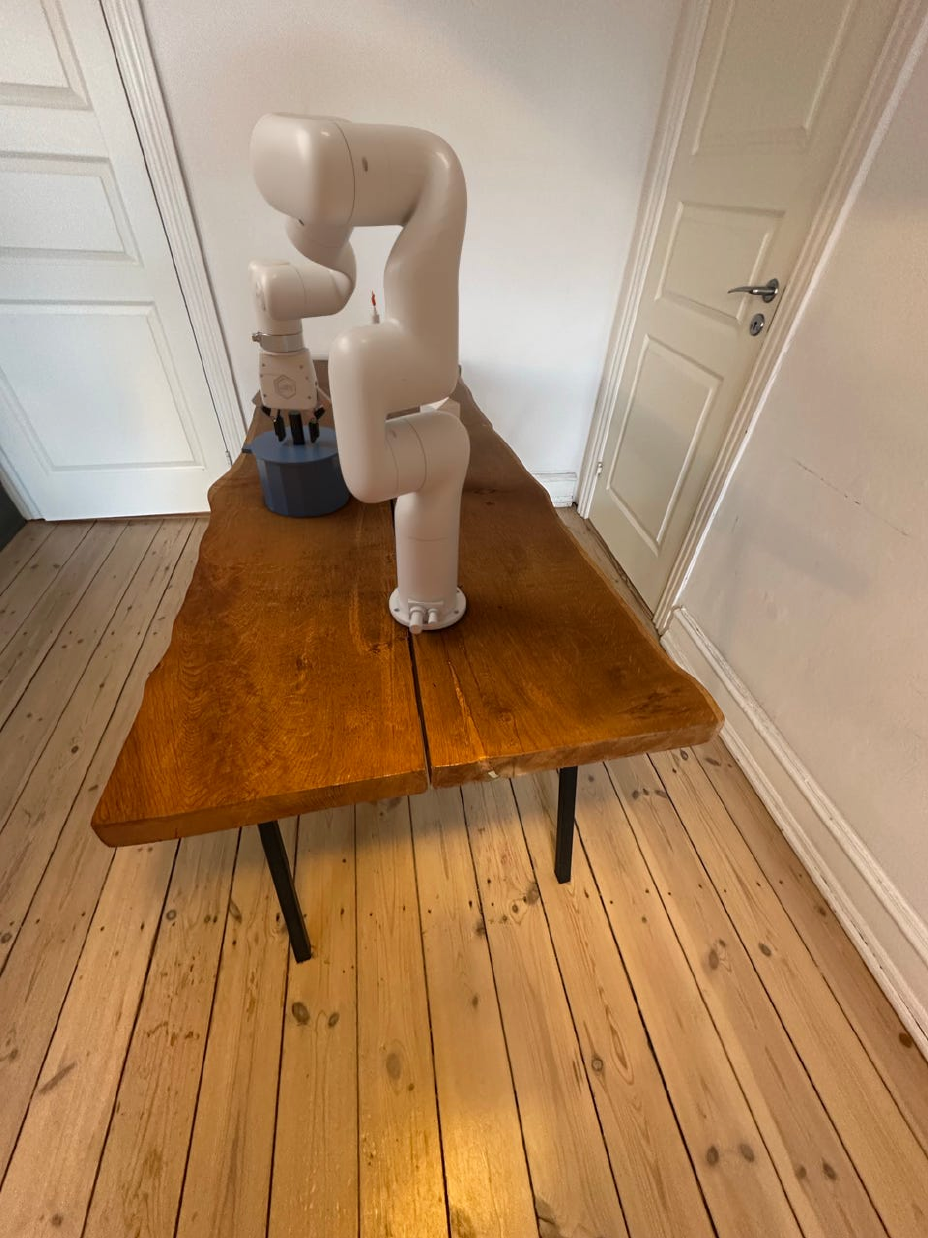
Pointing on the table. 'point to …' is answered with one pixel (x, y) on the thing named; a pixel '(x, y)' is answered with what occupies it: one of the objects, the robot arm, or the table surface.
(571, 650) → the table surface
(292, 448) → the lid
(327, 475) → the pot
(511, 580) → the table surface
